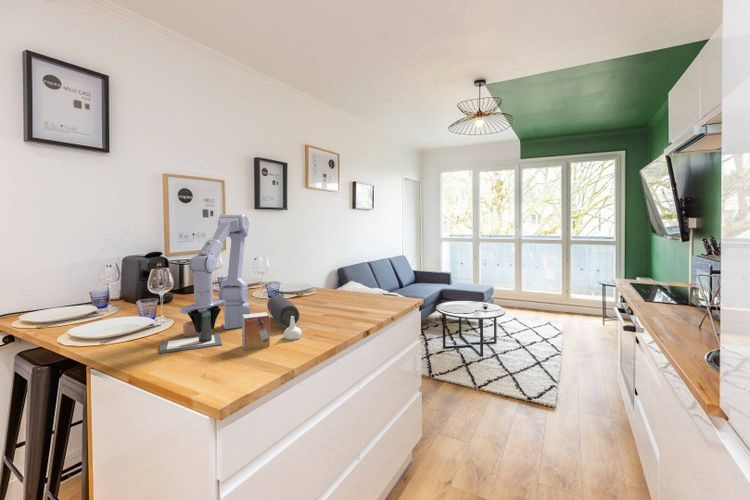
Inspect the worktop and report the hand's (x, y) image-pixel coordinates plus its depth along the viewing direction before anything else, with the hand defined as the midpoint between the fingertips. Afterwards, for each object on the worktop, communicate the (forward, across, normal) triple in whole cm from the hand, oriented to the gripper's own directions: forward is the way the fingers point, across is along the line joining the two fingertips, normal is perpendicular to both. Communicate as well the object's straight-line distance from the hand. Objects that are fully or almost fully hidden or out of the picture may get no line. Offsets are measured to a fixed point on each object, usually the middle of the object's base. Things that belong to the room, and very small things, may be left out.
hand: (204, 330), depth 118 cm
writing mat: (+4, +4, -2) cm, 6 cm away
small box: (+4, -8, +17) cm, 19 cm away
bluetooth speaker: (+4, -31, +2) cm, 32 cm away
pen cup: (+4, -2, -12) cm, 13 cm away
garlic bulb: (+4, -21, +20) cm, 29 cm away
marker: (+3, 0, 0) cm, 3 cm away
